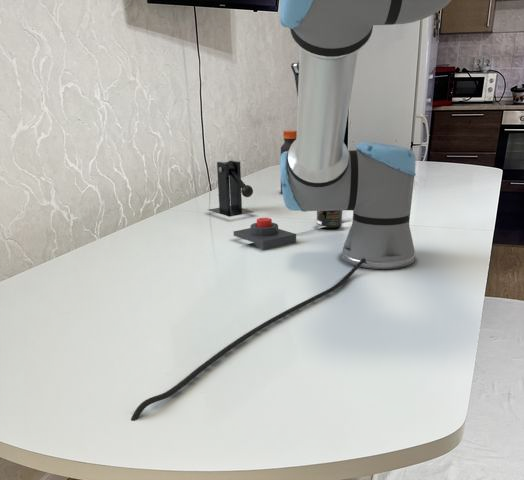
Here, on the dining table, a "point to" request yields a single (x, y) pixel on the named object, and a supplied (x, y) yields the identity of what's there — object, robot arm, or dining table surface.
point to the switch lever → (240, 181)
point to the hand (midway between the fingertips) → (314, 145)
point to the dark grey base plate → (266, 236)
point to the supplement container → (329, 219)
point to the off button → (264, 222)
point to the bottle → (288, 142)
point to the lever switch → (229, 191)
